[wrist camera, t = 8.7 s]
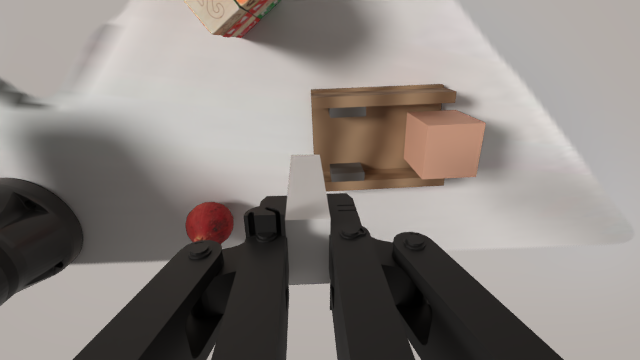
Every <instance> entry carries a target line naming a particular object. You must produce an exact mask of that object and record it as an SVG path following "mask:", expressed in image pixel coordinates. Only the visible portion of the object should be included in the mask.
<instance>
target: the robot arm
mask: <svg viewBox="0 0 640 360" xmlns="http://www.w3.org/2000/svg"><path fill="white" fill-rule="evenodd" d="M244 223H245V232H246V239H245V242H244V243H242V244H240V245H238V246H235V247H231V248H227V249H223V250H222V247H221V245H220V244H219V243H218V242H216V241H212V240H200V241H196V242H193V243H191V244H189V245H187V246H185V247H184V248H183V249H181V250H180V251H179V252H178V253H177V254H176V255H175V256H174V257H173V258H172V259H171V260H170V261H169V262H168V263H167V264H166V265H165V266H164V267H163V268H162V269H161V270H160V272H159V273H158V274H156V275H155V277H154V278H153V279H152V280H151V281H150V282H149V283H148V284H147V285H146V286H145V287H144V288H143V289H142V290H141V291H140V292H139V293H138V294H137V295H136V296H135V297H134V298H133V299H132V300H131V301H130V302H129V303H128V304H127V305H126V306H125V307H124V308H123V309H122V310H121V311H120V312H119V313H118V314H117V315H116V316H115V317H114V318H113V319H112V320H111V321H110V322H109V323H108V324H107V325H106V326H105V327H104V328H103V329H102V330H101V331H100V332H99V333H98V334H97V335H96V336H95V337H94V338H93V340H92V341H90V342H89V343H88V344H87V345H86V347H85V348H84V349H83V350H82V351H81V352H80V353H79V354H78V355H77V356H76V357H75V358H74V359H73V360H206V359H207V358H208V356H209V354H210V352H211V351H212V349H213V347H214V345H215V343H216V345H215V348H214V352H213V355H212V359H211V360H286V350H287V328H288V307H289V289H288V288H289V287H288V283H289V285H298V284H322V283H323V284H324V283H330V310H332V313H333V323H334V332H335V341H336V350H337V359H338V360H415V358H414V355H413V352H412V350H411V347H410V344H409V341H410V343H411V345H412V346H413V348H414V349H415V351H416V352H417V354H418V355H419V357H420V358H421V360H564V359H562V358H561V357H560V356H559V355H558V354H557V353H556V352H555V351H554V350H552V349H551V348H550V347H549V346H548V345H547V344H546V343H545V342H544V341H543V340H542V339H540V338H539V337H538V336H537V335H536V334H535V333H534V332H533V331H532V330H531V329H529V328H528V327H527V326H526V325H525V324H524V323H523V322H522V321H521V320H520V319H518V318H517V317H516V316H515V315H514V314H513V313H512V312H511V311H510V310H509V309H507V308H506V307H505V306H504V305H503V304H502V303H501V302H500V301H499V300H497V299H496V298H495V297H494V296H493V295H492V294H491V293H490V292H489V291H488V290H486V289H485V288H484V287H483V286H482V285H481V284H480V283H479V282H478V281H477V280H475V279H474V278H473V277H472V276H471V275H470V274H469V273H468V272H467V271H466V270H464V269H463V268H462V267H461V266H460V265H459V264H458V263H457V262H456V261H455V260H453V259H452V258H451V257H450V256H449V255H448V254H447V253H446V252H445V251H444V250H442V249H441V248H440V247H439V246H438V245H437V244H436V243H435V242H434V241H433V240H431V239H430V238H428V237H427V236H425V235H422V234H419V233H414V232H403V233H400V234H398V235H396V236H395V237H394V241H393V242H387V241H381V240H377V239H375V238H372V237H371V236H370V233H369V231H368V230H367V229H366V228H365V227H363V226H362V225H361V222H360V219H359V216H358V213H357V211H356V207H355V204H354V201H353V198H351V197H350V196H349V195H348V194H346V193H341V194H326V189H325V183H324V177H323V171H322V165H321V159H320V155H291V163H290V173H289V184H288V194H287V196H267V197H266V198H264V199H263V200H262V201H261V203H260V206H258V207H255V208H252V209H250V210H249V211H247V212H246V213H245V215H244ZM82 242H83V236H82V230H81V227H80V224H79V222H78V220H77V218H76V217H75V215H74V214H73V212H72V211H71V210H70V208H69V207H68V206H67V205H66V204H65V203H64V202H63V201H62V200H60V199H59V198H58V197H57V196H55V195H54V194H52V193H51V192H49V191H48V190H46V189H44V188H42V187H40V186H38V185H35V184H33V183H30V182H27V181H23V180H19V179H12V178H0V306H1V305H2V304H3V303H4V302H5V301H7V300H8V299H9V298H10V297H11V296H13V295H14V294H15V293H17V292H19V291H21V290H23V289H26V288H28V287H30V286H32V285H34V284H36V283H38V282H41V281H43V280H45V279H47V278H49V277H51V276H53V275H55V274H57V273H59V272H60V271H62V270H63V269H64V268H65V267H67V266H68V265H69V264H70V263H71V262H72V261H73V260H74V259H75V258H76V257H77V256H78V254H79V252H80V250H81V248H82ZM408 340H409V341H408Z"/></svg>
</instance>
